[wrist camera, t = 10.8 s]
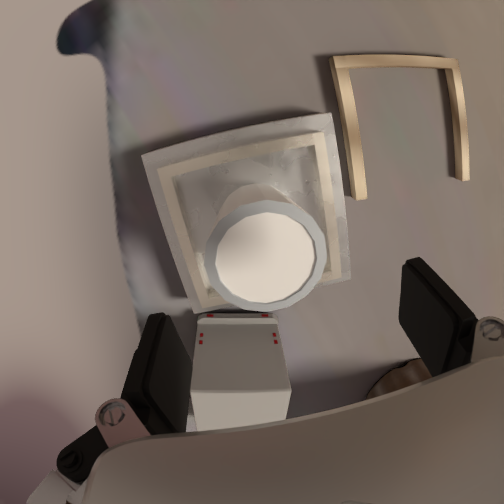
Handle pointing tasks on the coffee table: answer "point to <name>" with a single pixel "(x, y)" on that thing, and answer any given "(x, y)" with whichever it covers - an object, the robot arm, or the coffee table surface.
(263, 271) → the white cup
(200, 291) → the plate
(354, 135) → the cradle
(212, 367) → the toy vehicle
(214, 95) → the coffee table surface
